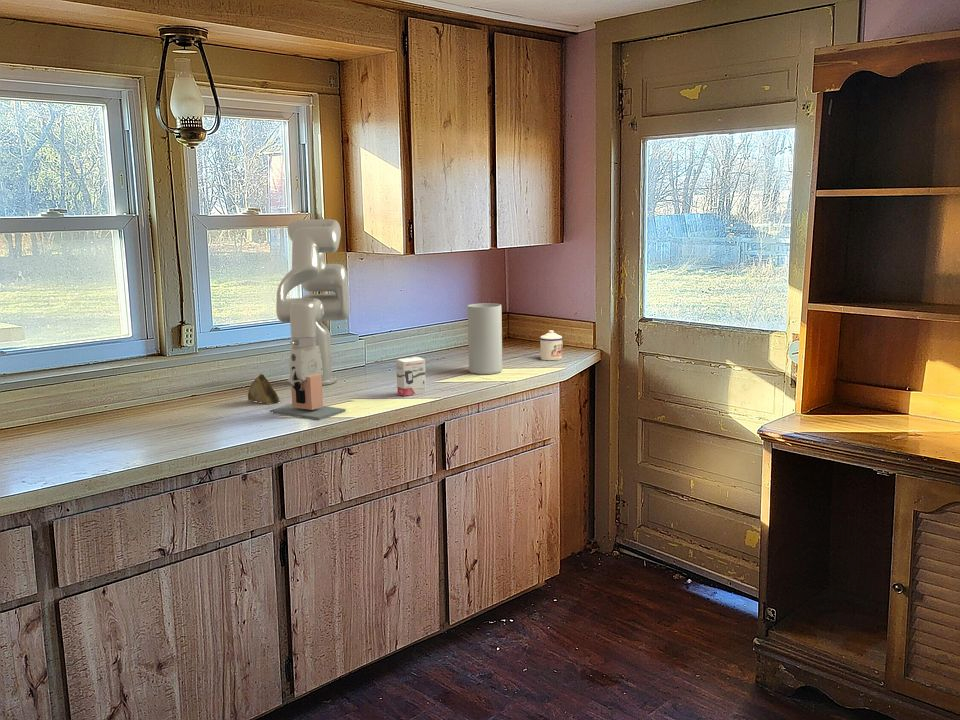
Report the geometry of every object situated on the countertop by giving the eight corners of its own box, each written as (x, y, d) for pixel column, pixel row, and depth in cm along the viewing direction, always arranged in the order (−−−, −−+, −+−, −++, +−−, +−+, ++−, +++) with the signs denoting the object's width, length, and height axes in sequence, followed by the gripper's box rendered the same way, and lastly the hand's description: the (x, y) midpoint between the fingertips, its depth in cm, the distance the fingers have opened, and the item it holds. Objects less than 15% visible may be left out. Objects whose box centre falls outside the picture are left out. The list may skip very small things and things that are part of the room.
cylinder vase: (506, 373, 319) (505, 306, 315) (473, 375, 316) (472, 307, 312) (497, 367, 331) (496, 302, 327) (465, 369, 328) (464, 304, 324)
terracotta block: (311, 409, 261) (310, 377, 259) (292, 407, 265) (290, 375, 263) (323, 406, 265) (321, 374, 263) (303, 403, 269) (301, 372, 267)
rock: (238, 394, 281) (246, 395, 272) (251, 372, 283) (260, 372, 275) (266, 411, 286) (275, 412, 277) (279, 388, 288) (288, 389, 279)
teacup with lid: (553, 361, 341) (553, 332, 339) (535, 359, 347) (535, 330, 345) (571, 357, 350) (571, 329, 348) (552, 355, 356) (552, 327, 354)
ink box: (404, 396, 284) (402, 361, 282) (396, 394, 288) (395, 359, 286) (426, 393, 289) (425, 358, 286) (419, 390, 293) (418, 356, 291)
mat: (270, 412, 265) (269, 410, 265) (297, 404, 275) (297, 402, 275) (319, 420, 255) (318, 417, 255) (345, 411, 265) (345, 408, 265)
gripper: (293, 347, 252) (296, 408, 255) (332, 339, 266) (335, 396, 270) (274, 345, 256) (278, 405, 259) (314, 337, 270) (317, 394, 273)
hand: (307, 400), depth 264 cm, fingers closed on terracotta block, 4 cm apart
